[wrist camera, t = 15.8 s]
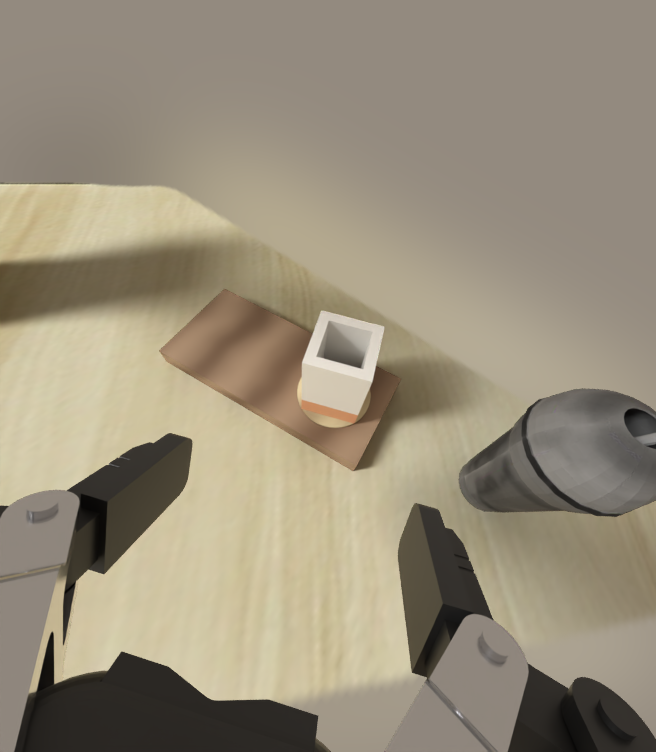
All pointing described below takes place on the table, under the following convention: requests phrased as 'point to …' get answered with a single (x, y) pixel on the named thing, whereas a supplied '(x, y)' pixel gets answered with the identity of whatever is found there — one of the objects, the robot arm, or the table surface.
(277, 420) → the pin board
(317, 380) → the sleeve
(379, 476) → the table surface
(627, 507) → the beverage cup
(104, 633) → the table surface
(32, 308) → the table surface
